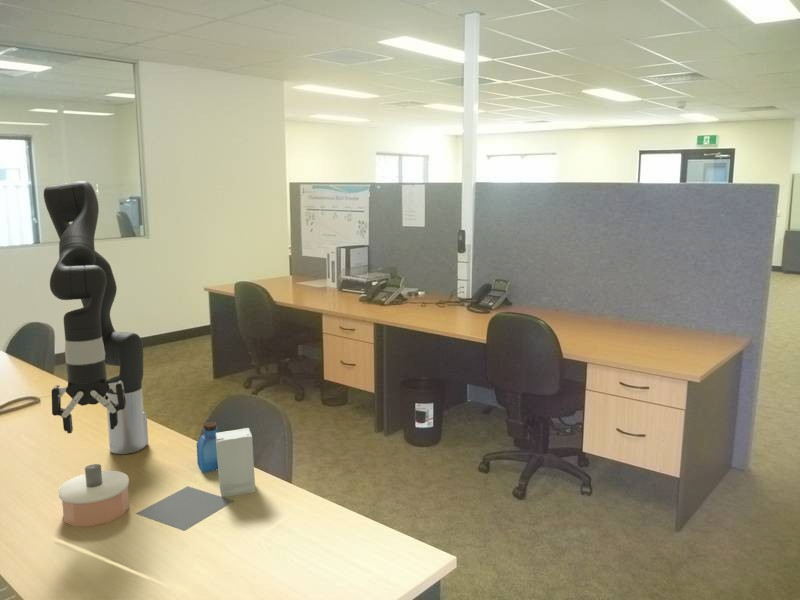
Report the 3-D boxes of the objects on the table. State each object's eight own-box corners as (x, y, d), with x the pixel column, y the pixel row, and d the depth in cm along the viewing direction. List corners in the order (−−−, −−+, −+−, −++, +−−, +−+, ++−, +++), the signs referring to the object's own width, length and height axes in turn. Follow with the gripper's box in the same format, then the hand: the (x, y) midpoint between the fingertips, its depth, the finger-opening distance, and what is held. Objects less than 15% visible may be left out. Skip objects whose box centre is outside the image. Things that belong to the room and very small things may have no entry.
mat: (187, 488, 152) (187, 486, 152) (234, 503, 145) (234, 500, 145) (135, 515, 139) (135, 513, 139) (184, 533, 132) (184, 530, 132)
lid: (102, 473, 148) (100, 449, 147) (142, 486, 142) (141, 462, 141) (45, 497, 136) (42, 472, 135) (86, 513, 130) (84, 487, 129)
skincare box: (252, 483, 155) (250, 426, 152) (256, 494, 149) (254, 435, 147) (217, 489, 152) (215, 430, 149) (219, 500, 146) (216, 440, 144)
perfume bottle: (201, 475, 159) (199, 430, 158) (197, 465, 165) (195, 422, 163) (226, 470, 162) (224, 426, 160) (221, 461, 168) (219, 418, 166)
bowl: (103, 494, 149) (101, 471, 148) (141, 507, 142) (139, 483, 141) (51, 519, 137) (48, 493, 136) (89, 534, 131) (87, 507, 130)
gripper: (44, 365, 128) (51, 440, 131) (119, 360, 132) (125, 432, 135) (52, 356, 135) (59, 427, 138) (123, 351, 139) (129, 420, 142)
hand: (91, 430), depth 137 cm, fingers open, 8 cm apart
